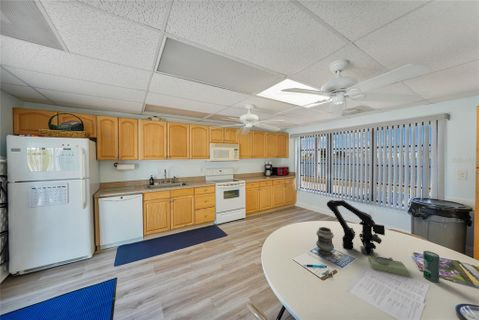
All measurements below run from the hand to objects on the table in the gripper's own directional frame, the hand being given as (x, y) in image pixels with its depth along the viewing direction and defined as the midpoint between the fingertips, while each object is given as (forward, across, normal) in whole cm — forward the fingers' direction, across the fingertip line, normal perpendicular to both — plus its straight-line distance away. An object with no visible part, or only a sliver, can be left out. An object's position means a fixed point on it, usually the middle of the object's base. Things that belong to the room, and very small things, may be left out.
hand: (367, 251), depth 128 cm
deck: (+1, -13, -7) cm, 15 cm away
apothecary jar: (+1, -11, +29) cm, 31 cm away
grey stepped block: (+1, 0, 0) cm, 1 cm away
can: (+1, -18, -27) cm, 32 cm away
